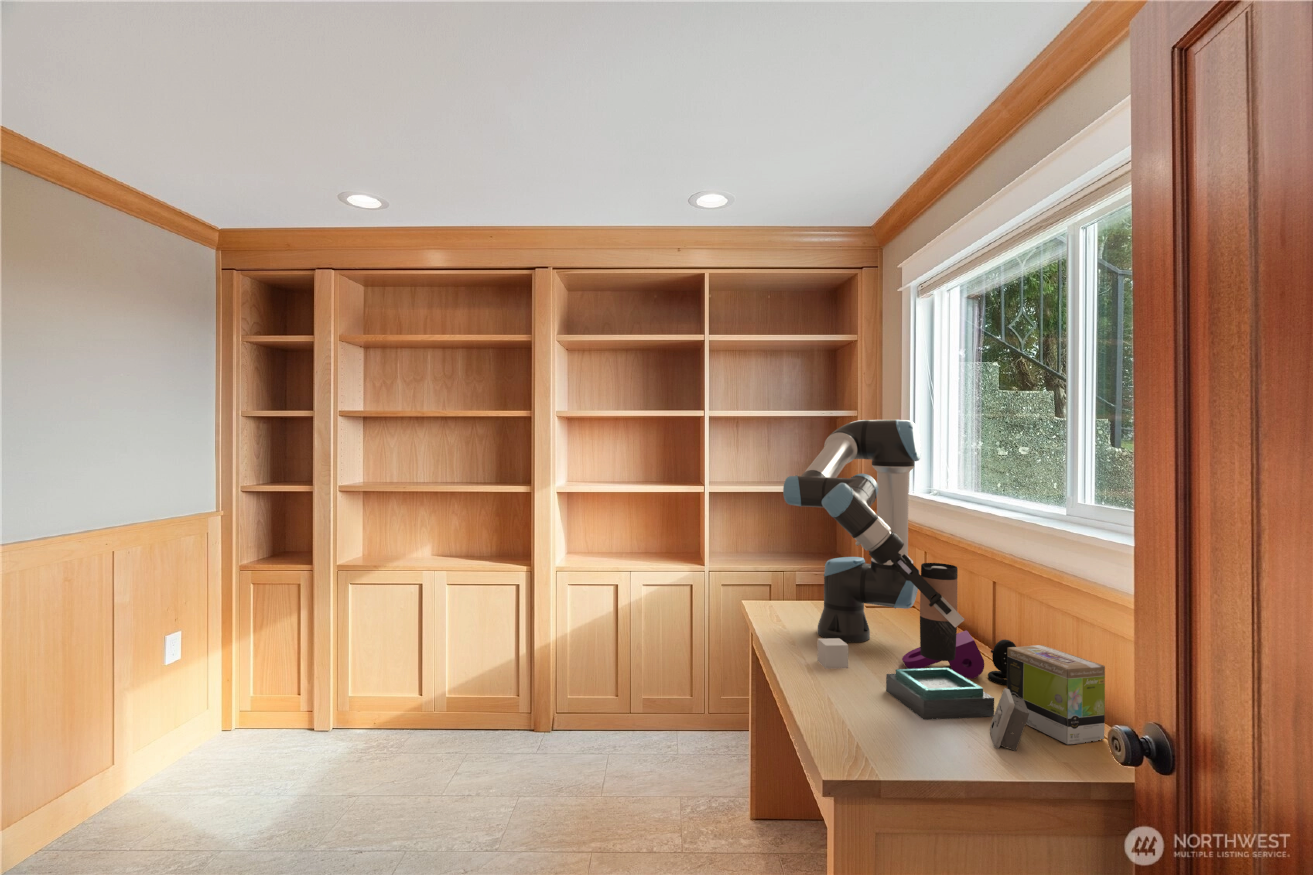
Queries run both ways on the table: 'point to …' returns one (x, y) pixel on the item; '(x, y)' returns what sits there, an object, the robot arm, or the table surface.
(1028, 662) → the tea box
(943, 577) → the travel mug
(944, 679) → the block with teal frame
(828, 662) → the light grey cube
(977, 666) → the mounting bracket
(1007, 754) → the table surface
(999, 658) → the webcam
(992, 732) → the electrical switch
